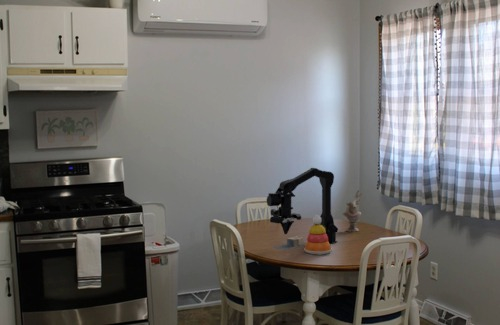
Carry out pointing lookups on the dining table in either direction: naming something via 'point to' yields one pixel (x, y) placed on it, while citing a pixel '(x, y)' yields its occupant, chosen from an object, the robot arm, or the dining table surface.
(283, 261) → the dining table surface
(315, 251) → the stacking toy
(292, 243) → the block
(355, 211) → the decorative bust
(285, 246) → the mat
